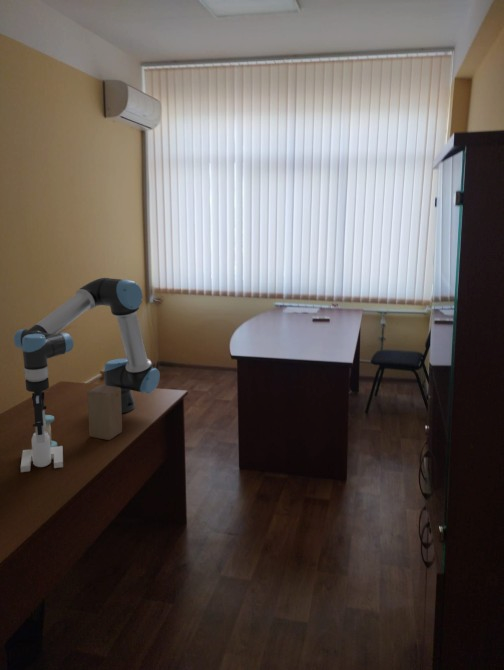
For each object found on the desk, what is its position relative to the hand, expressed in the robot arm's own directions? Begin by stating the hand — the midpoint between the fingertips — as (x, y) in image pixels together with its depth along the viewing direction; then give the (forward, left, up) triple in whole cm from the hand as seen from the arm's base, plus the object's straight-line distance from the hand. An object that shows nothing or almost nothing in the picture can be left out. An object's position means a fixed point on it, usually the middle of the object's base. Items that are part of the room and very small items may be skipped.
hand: (41, 434), depth 193 cm
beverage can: (0, 0, -12) cm, 12 cm away
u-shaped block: (0, -3, -12) cm, 12 cm away
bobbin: (-1, -15, -12) cm, 19 cm away
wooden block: (-24, -21, -12) cm, 34 cm away
